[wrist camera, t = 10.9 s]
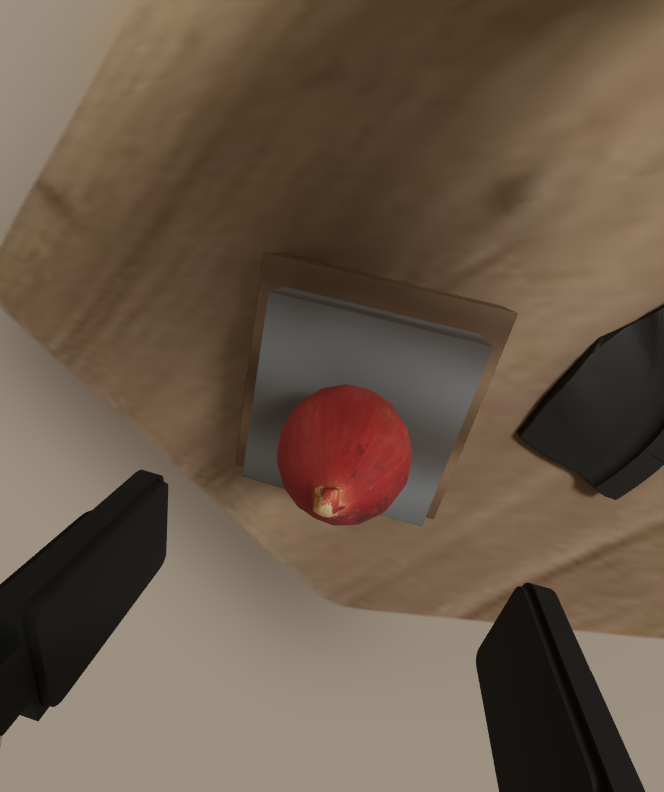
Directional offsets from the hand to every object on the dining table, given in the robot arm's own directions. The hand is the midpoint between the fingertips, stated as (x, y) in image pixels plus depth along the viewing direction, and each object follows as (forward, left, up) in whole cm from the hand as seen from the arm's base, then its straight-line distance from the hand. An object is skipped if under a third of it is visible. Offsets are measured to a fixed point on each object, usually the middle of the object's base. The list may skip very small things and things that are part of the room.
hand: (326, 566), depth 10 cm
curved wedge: (-3, +16, -17) cm, 24 cm away
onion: (+1, 0, -11) cm, 11 cm away
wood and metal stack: (+1, 0, -17) cm, 16 cm away
